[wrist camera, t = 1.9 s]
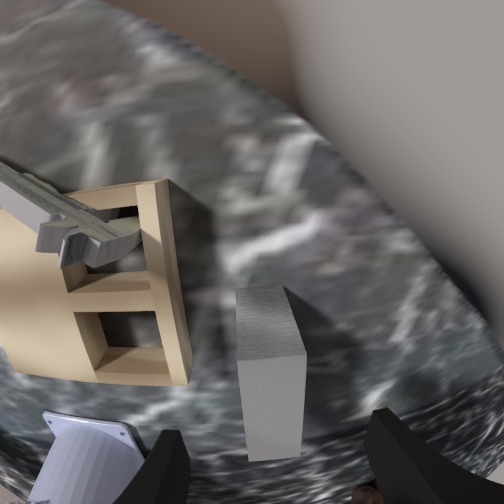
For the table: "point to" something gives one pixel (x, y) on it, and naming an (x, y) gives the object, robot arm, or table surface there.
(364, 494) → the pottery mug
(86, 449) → the robot arm
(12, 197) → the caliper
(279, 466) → the table surface
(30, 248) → the tan wooden flat block
